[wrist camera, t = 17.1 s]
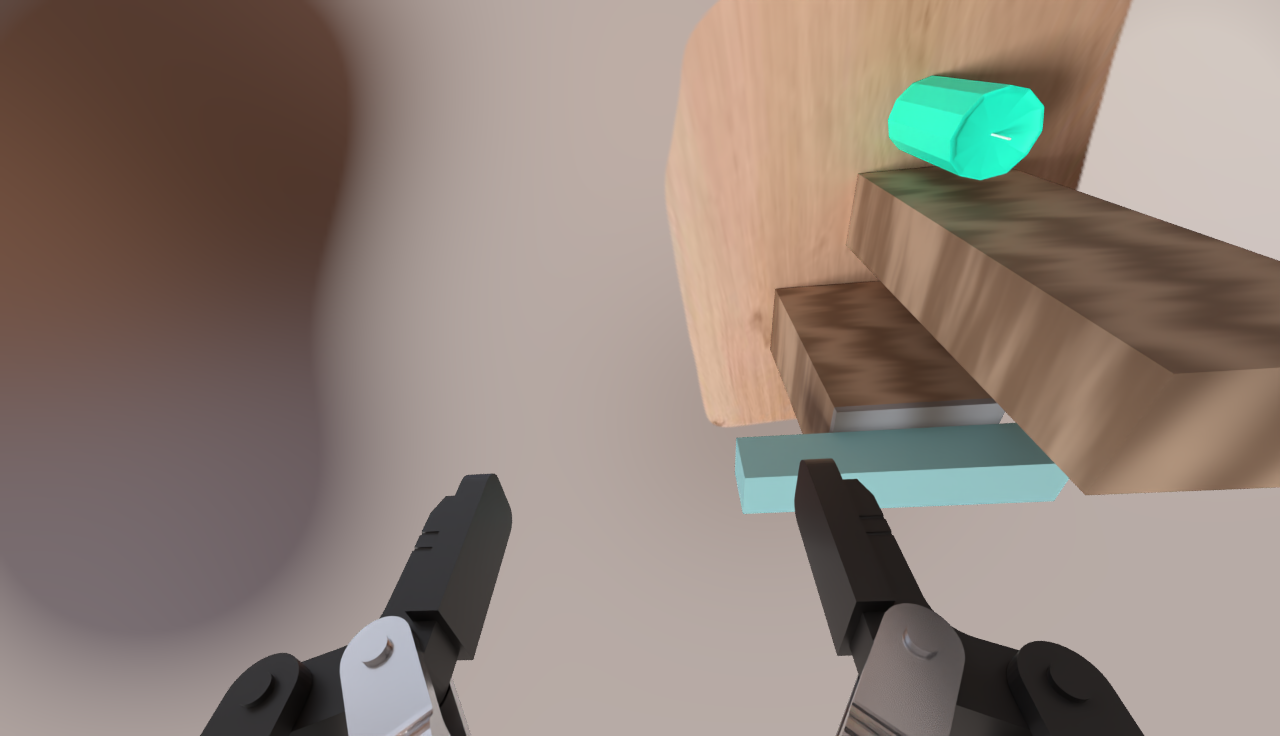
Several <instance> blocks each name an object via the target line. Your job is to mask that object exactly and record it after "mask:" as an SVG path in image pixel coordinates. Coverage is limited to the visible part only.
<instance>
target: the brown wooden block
mask: <svg viewBox="0 0 1280 736" xmlns="http://www.w3.org/2000/svg"><path fill="white" fill-rule="evenodd" d="M770 350H771V352H772V355H773V358H774V360H775V363H776V365H777V368H778V371H779V373H780V376H781V379H782V381H783V384H784V386H785V389H786V392H787V394H788V397H789V399H790V402H791V405H792V407H793V410H794V412H795V415H796V418H797V420H798V423H799V425H800V428H801V431H802V433H803V434H817V433H836V432H855V431H874V430H893V429H911V428H930V427H949V426H968V425H986V424H999V423H1000V421H1001V418H1002V417H1003V415H1004V413H1005V411H1004V410H1003V409H1002V408H1001V407H1000V405H999V404H998V403H997V402H996V401H995V400H994V399H993V398H992V397H991V396H990V395H989V394H988V393H987V392H986V391H985V390H984V389H983V388H982V387H981V386H980V385H979V384H978V382H977V381H976V380H975V379H974V378H973V377H972V376H971V375H970V374H969V373H968V372H967V371H966V370H965V369H964V368H963V367H962V366H961V365H960V364H959V363H958V362H957V361H956V359H955V358H954V357H953V356H952V355H951V354H950V353H949V352H948V351H947V350H946V349H945V348H944V347H943V346H942V345H941V344H940V343H939V342H938V341H937V340H936V339H935V338H934V337H933V335H932V334H931V333H930V332H929V331H928V330H927V329H926V328H925V327H924V326H923V325H922V324H921V323H920V322H919V321H918V320H917V319H916V318H915V317H914V316H913V315H912V314H911V312H910V311H909V310H908V309H907V308H906V307H905V306H904V305H903V304H902V303H901V302H900V301H899V300H898V299H897V298H896V297H895V296H894V295H893V294H892V293H891V292H890V291H889V290H888V288H887V287H886V286H885V285H884V284H883V283H882V282H881V281H873V282H860V283H847V284H834V285H821V286H808V287H795V288H782V289H775V299H774V311H773V323H772V335H771V347H770Z"/></svg>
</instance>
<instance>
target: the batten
mask: <svg viewBox="0 0 1280 736" xmlns="http://www.w3.org/2000/svg"><path fill="white" fill-rule="evenodd" d="M826 458H832V459H833V460H834V461H835V463H836V465H837V467H838V469H839V472H840V474H841V476H842V479H858V480H859V481H860V482H861V483H862V484H863V485H864V486H865V487H866V488H867V489H868V490H869V491H870V492H871V493H872V494H873V495H874V497H875V499H876V501H877V503H878V505H879V507H880V508H895V507H919V506H920V507H921V506H945V505H969V504H993V503H1017V502H1042V501H1054V500H1055V499H1056V497H1057V496H1058V494H1059V492H1060V491H1061V490H1062V488H1063V487H1064V485H1065V484H1066V482H1067V481H1068V479H1069V478H1068V476H1067V475H1066V474H1065V473H1064V472H1063V471H1062V470H1061V469H1060V468H1059V467H1058V466H1057V465H1056V464H1055V463H1054V462H1053V461H1052V460H1051V459H1050V458H1049V457H1048V456H1047V455H1046V454H1045V452H1044V451H1043V450H1042V449H1041V448H1040V447H1039V446H1038V445H1037V444H1036V443H1035V442H1034V441H1033V440H1032V439H1031V438H1030V437H1029V436H1028V435H1027V434H1026V433H1025V432H1024V431H1023V429H1022V428H1021V427H1020V426H1019V425H1018V424H1017V423H1005V424H986V425H968V426H949V427H930V428H911V429H893V430H874V431H855V432H836V433H817V434H799V435H780V436H761V437H743V438H736V462H735V475H736V480H737V485H738V490H739V496H740V500H741V506H742V511H743V514H745V513H746V514H747V513H772V512H795V507H794V497H795V490H796V484H797V477H798V471H799V465H800V461H801V460H806V459H826Z"/></svg>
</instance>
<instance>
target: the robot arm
mask: <svg viewBox="0 0 1280 736" xmlns="http://www.w3.org/2000/svg"><path fill="white" fill-rule="evenodd" d="M794 507H795V514H796V519H797V523H798V527H799V530H800V533H801V536H802V540H803V543H804V546H805V550H806V553H807V556H808V560H809V563H810V566H811V570H812V573H813V576H814V580H815V583H816V586H817V589H818V593H819V596H820V600H821V603H822V606H823V609H824V613H825V616H826V619H827V622H828V626H829V629H830V633H831V636H832V639H833V643H834V646H835V649H836V653H837V655H838V656H845V655H852V656H853V659H854V662H855V665H856V667H857V671H858V676H857V678H856V681H855V685H854V687H853V689H852V692H851V695H850V698H849V701H848V703H847V706H846V709H845V711H844V714H843V717H842V720H841V722H840V725H839V728H838V731H837V734H836V736H1144V735H1143V733H1142V731H1141V730H1140V728H1139V727H1138V725H1137V724H1136V722H1135V721H1134V719H1133V718H1132V716H1131V715H1130V713H1129V712H1128V710H1127V709H1126V707H1125V706H1124V704H1123V702H1122V701H1121V699H1120V698H1119V696H1118V695H1117V693H1116V692H1115V690H1114V689H1113V687H1112V686H1111V684H1110V683H1109V682H1108V680H1107V679H1106V678H1105V677H1104V676H1103V674H1102V673H1101V672H1100V671H1099V670H1098V669H1097V668H1096V667H1095V666H1093V665H1092V664H1091V663H1090V662H1089V661H1087V660H1086V659H1085V658H1083V657H1082V656H1080V655H1079V654H1077V653H1076V652H1074V651H1072V650H1070V649H1068V648H1066V647H1064V646H1061V645H1059V644H1055V643H1052V642H1046V641H1034V642H1031V643H1028V644H1026V645H1025V646H1023V647H1022V648H1021V649H1020V650H1016V649H1013V648H1009V647H1006V646H1002V645H999V644H995V643H992V642H989V641H985V640H982V639H978V638H975V637H972V636H969V635H967V634H965V633H962V632H960V631H958V630H957V629H955V628H953V627H952V626H950V624H949V623H947V621H945V620H944V619H943V618H942V617H941V616H939V615H938V614H937V613H935V612H934V611H933V610H932V609H931V607H930V606H929V605H928V603H927V602H926V600H925V598H924V597H923V595H922V593H921V591H920V589H919V587H918V585H917V583H916V580H915V579H914V576H913V574H912V572H911V570H910V568H909V566H908V564H907V562H906V560H905V558H904V556H903V554H902V552H901V550H900V548H899V546H898V544H897V542H896V540H895V538H894V536H893V535H892V534H891V529H890V527H889V525H888V523H887V521H886V519H884V517H883V513H882V511H881V509H880V507H879V505H878V503H877V501H876V499H875V497H874V495H873V494H872V493H871V492H870V491H869V490H868V489H867V488H866V487H865V486H864V485H863V484H862V483H861V482H860V481H859V480H858V479H842V476H841V474H840V472H839V469H838V467H837V465H836V463H835V461H834V460H833V459H832V458H826V459H806V460H801V461H800V465H799V471H798V477H797V484H796V490H795V497H794ZM511 526H512V513H511V508H510V506H509V503H508V501H507V498H506V496H505V494H504V491H503V489H502V486H501V484H500V482H499V479H498V477H497V475H495V474H476V475H466V476H465V477H464V478H463V479H462V481H461V483H460V485H459V488H458V490H457V492H456V495H455V496H446V497H445V498H444V499H443V500H442V501H441V502H440V503H439V504H438V505H437V507H436V508H435V509H434V510H433V511H432V512H431V513H430V515H429V518H428V520H427V522H426V524H425V526H424V528H423V530H422V535H420V536H419V539H418V541H417V543H416V545H415V550H414V551H412V553H411V556H410V558H409V560H408V562H407V564H406V566H405V568H404V570H403V572H402V575H401V577H400V579H399V581H398V583H397V585H396V587H395V589H394V591H393V593H392V596H391V598H390V600H389V602H388V604H387V606H386V608H385V610H384V612H383V614H382V615H381V617H380V618H379V619H377V620H375V621H373V622H371V623H370V624H368V625H367V626H365V627H364V628H363V629H362V630H361V631H359V633H357V634H356V635H355V637H354V638H353V639H352V641H351V642H350V643H349V644H348V645H347V646H344V647H342V648H339V649H337V650H334V651H331V652H328V653H325V654H323V655H320V656H317V657H314V658H312V659H309V660H306V661H304V662H300V661H299V660H298V659H296V658H295V657H294V656H293V655H291V654H287V653H278V654H274V655H271V656H268V657H266V658H264V659H262V660H260V661H258V662H257V663H255V664H254V665H252V666H251V667H250V668H248V669H247V670H246V671H245V672H244V673H242V674H241V676H240V677H239V678H238V679H237V680H236V681H235V682H234V683H233V684H232V686H231V687H230V689H229V690H228V691H227V693H226V694H225V696H224V698H223V699H222V701H221V703H220V704H219V706H218V708H217V709H216V711H215V712H214V714H213V716H212V717H211V719H210V721H209V722H208V724H207V726H206V727H205V729H204V730H203V732H202V734H201V735H200V736H471V733H470V730H469V727H468V724H467V721H466V718H465V715H464V712H463V709H462V706H461V703H460V700H459V697H458V694H457V691H456V688H455V685H454V682H453V679H452V674H453V671H454V667H455V664H456V661H457V660H473V659H474V655H475V652H476V648H477V645H478V641H479V638H480V635H481V631H482V628H483V624H484V621H485V617H486V614H487V611H488V607H489V604H490V600H491V597H492V594H493V590H494V587H495V583H496V580H497V576H498V573H499V570H500V566H501V563H502V559H503V556H504V552H505V549H506V546H507V542H508V539H509V535H510V532H511Z"/></svg>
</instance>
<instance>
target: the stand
mask: <svg viewBox="0 0 1280 736" xmlns="http://www.w3.org/2000/svg"><path fill="white" fill-rule="evenodd" d="M846 246H847V247H848V248H849V249H850V250H851V251H852V252H853V253H854V254H855V255H856V256H857V257H858V258H859V259H860V260H861V261H862V262H863V263H864V264H865V265H866V267H867V268H868V269H869V270H870V271H871V272H872V273H873V274H874V275H875V276H876V277H877V278H878V279H879V280H880V281H881V282H882V283H883V284H884V285H885V286H886V287H887V288H888V290H889V291H890V292H891V293H892V294H893V295H894V296H895V297H896V298H897V299H898V300H899V301H900V302H901V303H902V304H903V305H904V306H905V307H906V308H907V309H908V310H909V311H910V312H911V314H912V315H913V316H914V317H915V318H916V319H917V320H918V321H919V322H920V323H921V324H922V325H923V326H924V327H925V328H926V329H927V330H928V331H929V332H930V333H931V334H932V335H933V337H934V338H935V339H936V340H937V341H938V342H939V343H940V344H941V345H942V346H943V347H944V348H945V349H946V350H947V351H948V352H949V353H950V354H951V355H952V356H953V357H954V358H955V359H956V361H957V362H958V363H959V364H960V365H961V366H962V367H963V368H964V369H965V370H966V371H967V372H968V373H969V374H970V375H971V376H972V377H973V378H974V379H975V380H976V381H977V382H978V384H979V385H980V386H981V387H982V388H983V389H984V390H985V391H986V392H987V393H988V394H989V395H990V396H991V397H992V398H993V399H994V400H995V401H996V402H997V403H998V404H999V405H1000V407H1001V408H1002V409H1003V410H1004V411H1005V412H1006V413H1007V414H1008V415H1009V416H1010V417H1011V418H1012V419H1013V420H1014V421H1015V422H1016V423H1017V424H1018V425H1019V426H1020V427H1021V428H1022V429H1023V431H1024V432H1025V433H1026V434H1027V435H1028V436H1029V437H1030V438H1031V439H1032V440H1033V441H1034V442H1035V443H1036V444H1037V445H1038V446H1039V447H1040V448H1041V449H1042V450H1043V451H1044V452H1045V454H1046V455H1047V456H1048V457H1049V458H1050V459H1051V460H1052V461H1053V462H1054V463H1055V464H1056V465H1057V466H1058V467H1059V468H1060V469H1061V470H1062V471H1063V472H1064V473H1065V474H1066V475H1067V476H1068V478H1069V479H1070V480H1071V481H1072V482H1073V483H1074V484H1075V485H1076V486H1077V487H1078V488H1079V489H1080V490H1081V491H1082V492H1083V493H1084V494H1085V495H1101V494H1102V495H1104V494H1128V493H1150V492H1151V493H1152V492H1177V491H1199V490H1200V491H1201V490H1225V489H1250V488H1275V487H1280V261H1278V260H1275V259H1272V258H1269V257H1266V256H1263V255H1261V254H1257V253H1255V252H1252V251H1249V250H1246V249H1243V248H1241V247H1238V246H1235V245H1232V244H1229V243H1226V242H1223V241H1220V240H1217V239H1214V238H1212V237H1209V236H1206V235H1203V234H1200V233H1197V232H1194V231H1192V230H1189V229H1186V228H1183V227H1180V226H1177V225H1174V224H1171V223H1168V222H1165V221H1163V220H1160V219H1157V218H1154V217H1151V216H1148V215H1145V214H1142V213H1139V212H1137V211H1134V210H1131V209H1128V208H1125V207H1122V206H1119V205H1117V204H1114V203H1111V202H1108V201H1105V200H1102V199H1099V198H1096V197H1093V196H1090V195H1088V194H1085V193H1082V192H1079V191H1076V190H1073V189H1071V188H1068V187H1065V186H1062V185H1059V184H1056V183H1053V182H1050V181H1047V180H1045V179H1042V178H1039V177H1036V176H1033V175H1030V174H1027V173H1024V172H1022V171H1019V170H1016V169H1013V168H1012V169H1011V170H1010V171H1009V172H1007V173H1006V174H1002V175H998V176H995V177H991V178H987V179H984V180H977V179H972V178H967V177H962V176H959V175H956V174H954V173H952V172H949V171H947V170H945V169H943V168H940V167H938V166H935V167H924V168H914V169H903V170H892V171H882V172H871V173H861V174H858V178H857V184H856V190H855V196H854V202H853V208H852V213H851V219H850V225H849V231H848V237H847V242H846Z"/></svg>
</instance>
